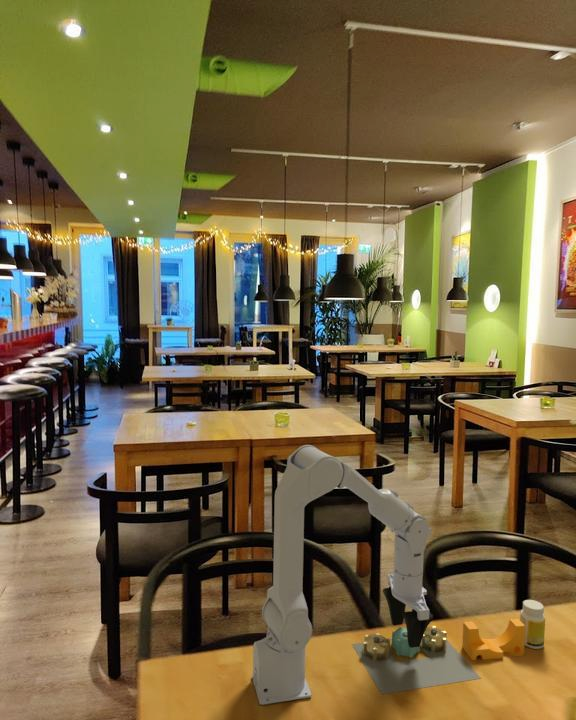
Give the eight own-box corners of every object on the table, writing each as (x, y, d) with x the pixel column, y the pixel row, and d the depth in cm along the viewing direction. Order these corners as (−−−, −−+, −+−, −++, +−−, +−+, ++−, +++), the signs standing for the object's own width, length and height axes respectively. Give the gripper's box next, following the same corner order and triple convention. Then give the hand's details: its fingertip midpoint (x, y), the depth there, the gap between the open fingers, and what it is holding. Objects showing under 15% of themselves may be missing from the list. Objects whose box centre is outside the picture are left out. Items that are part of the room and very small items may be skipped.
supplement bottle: (548, 644, 112) (550, 606, 112) (535, 652, 110) (537, 613, 109) (527, 633, 116) (529, 596, 116) (514, 640, 114) (516, 602, 113)
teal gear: (399, 663, 105) (400, 643, 105) (388, 647, 111) (388, 628, 110) (422, 660, 107) (423, 640, 106) (410, 644, 112) (411, 625, 111)
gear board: (381, 699, 95) (382, 678, 95) (351, 648, 110) (352, 630, 109) (481, 683, 100) (482, 662, 100) (439, 636, 115) (440, 618, 114)
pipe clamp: (471, 665, 105) (473, 634, 105) (461, 652, 110) (463, 621, 109) (528, 661, 107) (530, 630, 107) (516, 648, 111) (518, 618, 111)
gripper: (445, 585, 101) (441, 654, 102) (409, 552, 115) (407, 613, 116) (410, 589, 99) (407, 659, 100) (379, 555, 113) (377, 616, 114)
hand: (405, 634), depth 108 cm, fingers open, 7 cm apart
